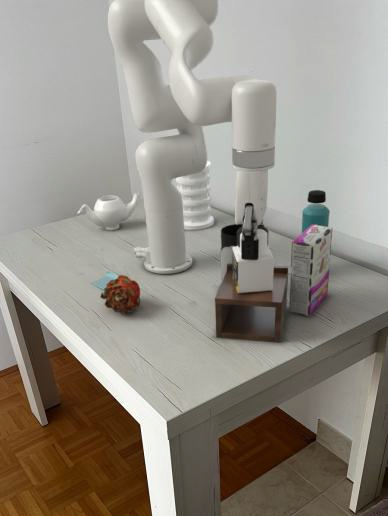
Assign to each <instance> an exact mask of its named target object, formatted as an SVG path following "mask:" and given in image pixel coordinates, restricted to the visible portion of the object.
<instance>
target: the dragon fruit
mask: <svg viewBox="0 0 388 516" xmlns="http://www.w3.org/2000/svg"><path fill="white" fill-rule="evenodd" d="M105 286H106V287H104V288H103V292H101V293H100V299H102V300H105V302H104V307H106V308H107V309H111V310H113V311H114V312H117V313H120V314H129V313H131V312H132V311H133V310H134V309H135V308H136V307H137V308H138V307H140V305H141V297H140V296H141V289H140V285H139V283H138V282H137V281H136V280H132V279H131V278H129V277H128V276H127V275H123V274H119V275H118V276H117V278H115V279H110V280H109V281H108V282H107V283H106V285H105Z"/></svg>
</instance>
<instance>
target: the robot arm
mask: <svg viewBox="0 0 388 516" xmlns="http://www.w3.org/2000/svg"><path fill="white" fill-rule="evenodd" d="M218 14H219V0H113V2H111V4H110V6H109V8H108V12H107V29H108V30H107V31H108V34H109V38H110V41H111V44H112V48H113V50H114V52H115V54H116V55H115V56H116V57H117V59H118V61H119V64H120V65H121V68H122V73H123V75H124V80H125V84H126V85H125V86H126V90H127V91H126V92H127V95H128V100H129V105H130V110H131V114H132V118H133V121H134V124H135V126H136V129H137V130H138V131H140V132H142V133H159V132H164V131H171V130H177V132H178V134H174V135H166V136H160V137H156V138H151V139H147V140H145V141H143V142H142V143H140V144H139V145H138V147H137V148H136V150H135V155H134V159H135V160H134V161H135V165H136V169H137V172H138V176H139V180H140V185H141V190H142V197H143V206H144V214H145V215H144V216H145V226H146V233H147V245H148V246H146V247H141V246H139V247H138V246H135V247H134V250H133V252H134V255H135V257H136V258H140V259H141V258H142V259H143V258H144V261H143V265H144V268H145V270H147V271H149V272H151V273H154V274H160V275H171V274H177V273H181V272H184V271H186V270H188V269H189V268H190V267H192V265H193V258H192V256H191V255H190V254H189V253H187V249H186V233H185V229H184V215H183V200H182V195H181V193H180V191H179V190H178V189H177V186H176V185H175V184H174V183H173V180H175V179H176V178H178V177H182V176H187V175H192V174H196V173H199V172H201V171H202V170H204V168H205V167H206V164H207V161H208V159H209V157H208V155H209V154H208V147H207V141H206V140H207V139H206V135H205V127H208V126H212V125H219V124H225V123H231V152H232V153H231V155H232V157H231V158H232V168H233V169H234V170H236V180H235V197H234V198H235V201H234V202H235V203H234V204H235V205H234V224H237V225H239V224H243V226H242V239H241V258H242V259H245V260H258V257H259V239H257V234H258V225H261V226H263V227H265V225H264V217H265V215H266V210H267V205H268V204H267V203H268V192H269V191H268V189H269V188H268V187H269V170H270V169H273V168H274V167H275V165H276V164H275V163H276V162H275V161H276V127H277V126H276V125H277V87H276V85H275V83H274V82H273V81H270V80H265V79H264V80H263V79H256V78H254V77H252V76H251V75H246V74H235V75H227V76H217V77H210V78H202V79H198V78H197V77H196V75H195V74H194V72H192V71H193V70H195V69H196V68H197V67H199V66H200V65H201V64H202V63H204V62H205V61H206V60H207V58H208V57H209V55H210V54H211V53H212V50H213V48H214V44H215V36H214V33H213V30H212V29H211V27H213V25H214V24H215V22H216V20H217V18H218ZM156 40H157V41H158V40H161V41H162V42H163V44H164V46H165V47H166V49H167V50H168V52H169V53H170V54H171V57H170V60H169V64H168V85H167V84H166V83H165V81H164V75H163V72H162V69H163V68H162V65H161V62H160V60H159V59H158V57H157V56H156V54H155V53H154V52H153V51H152V49H151V48H149V46H147V45H146V43H144V41H156ZM252 227H254V231H253V229H252Z"/></svg>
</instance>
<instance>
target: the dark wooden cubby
mask: <svg viewBox="0 0 388 516" xmlns="http://www.w3.org/2000/svg"><path fill="white" fill-rule="evenodd" d="M288 282H289V266H288V265H274V270H273V290H272V291H261V292H248V293H237V290H236V287H235V284H234V280H233V270H232V264H227V271H226V274H225V276H224V278H223V281H222V283H221V282H220V286H219V288H218V291H217V293H216V295H215V298H214V308H215V309H214V312H215V337H216V338H220V339H233V340H245V341H256V342H257V341H258V342H270V343H271V342H272V343H281V340H282V335H283V330H284V324H285V319H286V315H287V309H288V307H287V306H288V302H287V301H288V288H289V287H288V286H289V285H288V284H289V283H288Z"/></svg>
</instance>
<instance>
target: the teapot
mask: <svg viewBox="0 0 388 516" xmlns="http://www.w3.org/2000/svg"><path fill="white" fill-rule="evenodd" d="M140 196H141V192H134V193H133V197H132V200H131V201H130V202H129V203H127V204H125V202H124V201H123V200H122V199H121V197H119V196H118V195H115V194H107V195H102V196H99V197H98V198H97V199H96V202H95V204H94V206H93V210H92V209H91V208H90V206H88V204H82V205H81V207H80V208H79V210H78V211H77V212H76V213H77V214H81V213H83V211H85V214H86V216H87V218H88V219H89V220H90V221H91V222H92V223H93V224H95V225H97V226H99V227H103V228H104V229H105V230H107V231H115V230H118V229H120V228H121V223H122V222H125V221H127V220H128V219H129V218H130V217H131V216H132V214H133V212H134V211H135V209H136V206H137V205H138V202H139V199H140Z"/></svg>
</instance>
